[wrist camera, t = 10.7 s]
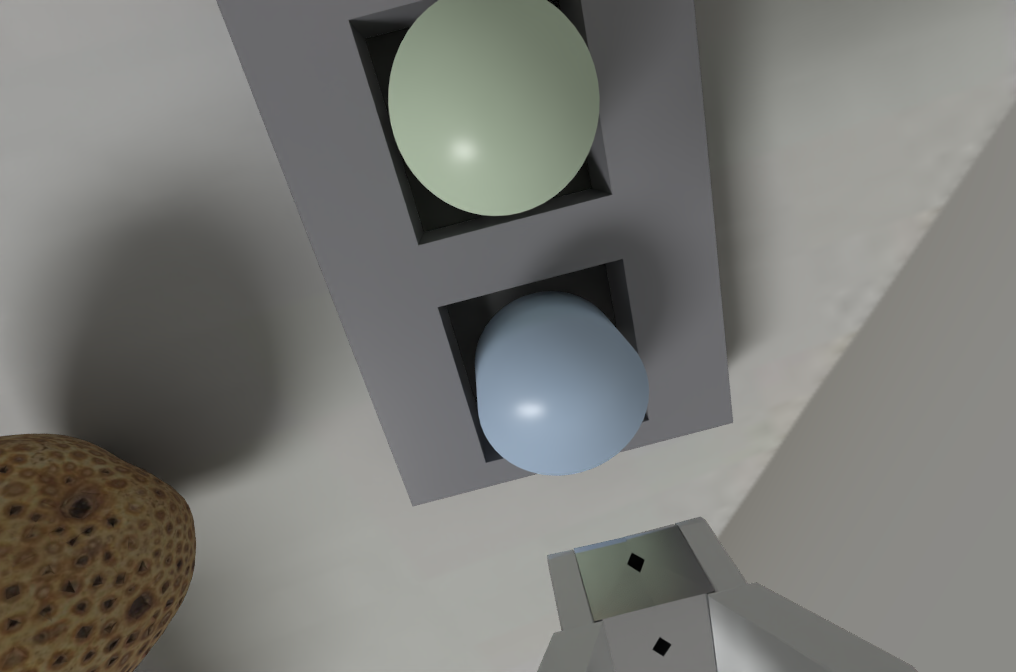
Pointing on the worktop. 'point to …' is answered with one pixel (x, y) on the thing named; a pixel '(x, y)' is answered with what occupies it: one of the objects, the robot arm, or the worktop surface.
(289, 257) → the worktop surface
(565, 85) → the sage button
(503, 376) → the slate blue button
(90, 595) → the natural sponge
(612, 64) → the button panel
